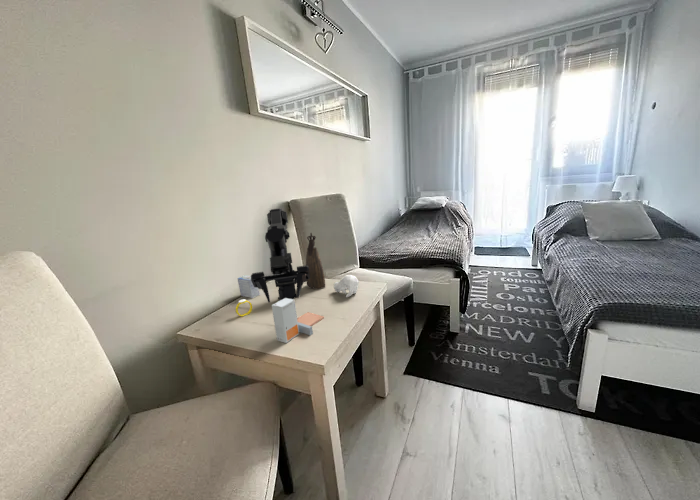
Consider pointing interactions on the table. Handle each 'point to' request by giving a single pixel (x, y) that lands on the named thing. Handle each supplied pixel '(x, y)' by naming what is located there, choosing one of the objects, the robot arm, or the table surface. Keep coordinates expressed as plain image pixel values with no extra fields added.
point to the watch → (242, 303)
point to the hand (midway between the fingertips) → (283, 299)
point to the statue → (314, 266)
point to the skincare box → (285, 320)
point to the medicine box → (247, 287)
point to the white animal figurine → (347, 285)
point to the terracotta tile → (309, 319)
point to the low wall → (305, 329)
